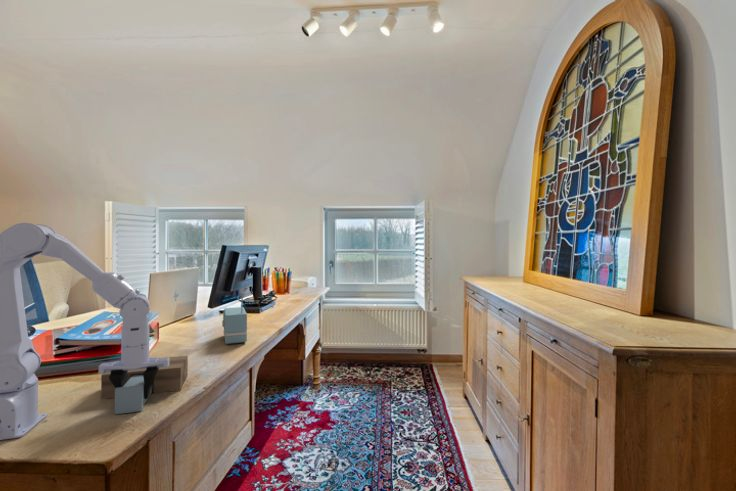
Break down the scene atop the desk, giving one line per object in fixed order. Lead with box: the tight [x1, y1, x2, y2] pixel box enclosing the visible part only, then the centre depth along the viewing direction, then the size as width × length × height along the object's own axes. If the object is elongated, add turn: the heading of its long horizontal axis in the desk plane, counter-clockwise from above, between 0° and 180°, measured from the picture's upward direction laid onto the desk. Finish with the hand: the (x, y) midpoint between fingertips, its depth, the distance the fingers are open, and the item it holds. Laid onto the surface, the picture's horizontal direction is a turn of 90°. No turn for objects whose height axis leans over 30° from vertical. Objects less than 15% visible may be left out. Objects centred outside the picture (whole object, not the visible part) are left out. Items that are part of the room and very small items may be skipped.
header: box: [100, 355, 189, 400], centre depth 94 cm, size 10×18×6 cm, turn 109°
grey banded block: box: [221, 293, 248, 345], centre depth 140 cm, size 16×9×20 cm, turn 25°
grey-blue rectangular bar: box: [114, 373, 154, 415], centre depth 87 cm, size 17×5×6 cm, turn 19°
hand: (135, 398), depth 84 cm, fingers closed on grey-blue rectangular bar, 4 cm apart
